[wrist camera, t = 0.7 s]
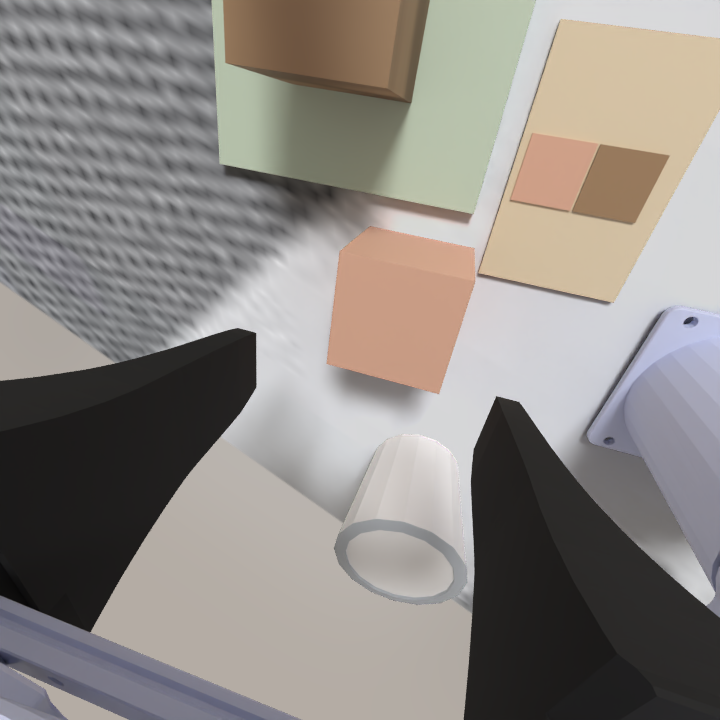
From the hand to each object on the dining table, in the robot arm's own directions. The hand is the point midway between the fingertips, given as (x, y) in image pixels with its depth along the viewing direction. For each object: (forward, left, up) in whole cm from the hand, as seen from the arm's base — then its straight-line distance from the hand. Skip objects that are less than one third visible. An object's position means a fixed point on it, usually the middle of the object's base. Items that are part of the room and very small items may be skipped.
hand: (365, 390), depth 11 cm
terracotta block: (0, 0, -10) cm, 10 cm away
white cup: (-3, +12, -10) cm, 16 cm away
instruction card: (-6, -6, -9) cm, 13 cm away
